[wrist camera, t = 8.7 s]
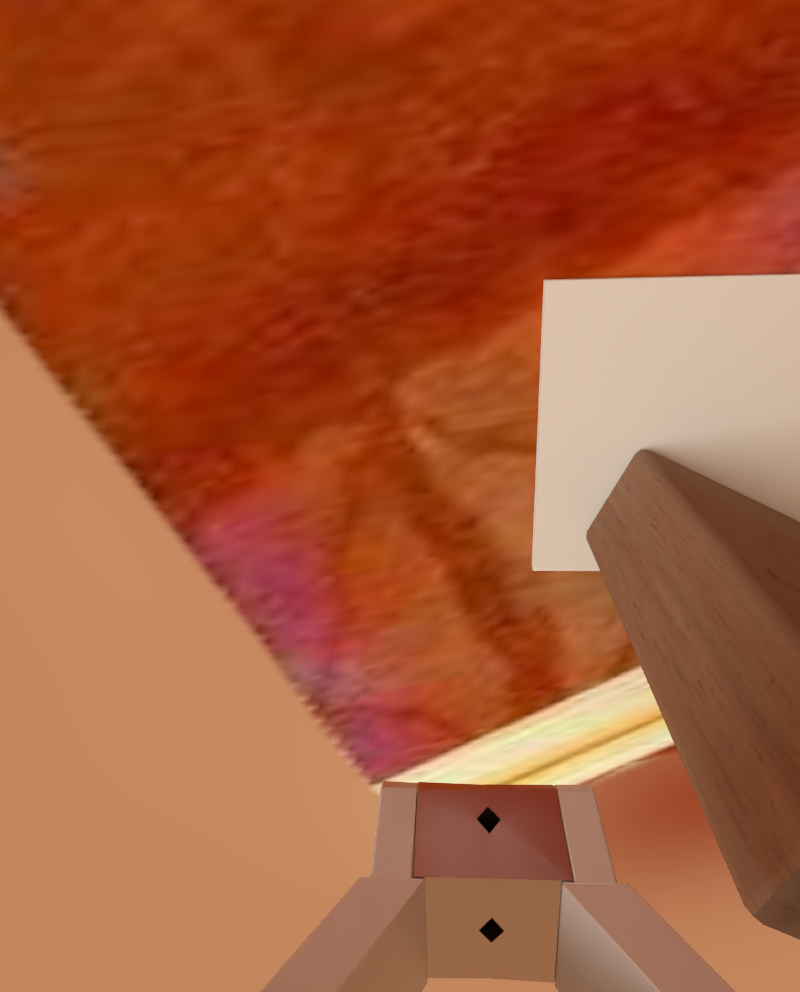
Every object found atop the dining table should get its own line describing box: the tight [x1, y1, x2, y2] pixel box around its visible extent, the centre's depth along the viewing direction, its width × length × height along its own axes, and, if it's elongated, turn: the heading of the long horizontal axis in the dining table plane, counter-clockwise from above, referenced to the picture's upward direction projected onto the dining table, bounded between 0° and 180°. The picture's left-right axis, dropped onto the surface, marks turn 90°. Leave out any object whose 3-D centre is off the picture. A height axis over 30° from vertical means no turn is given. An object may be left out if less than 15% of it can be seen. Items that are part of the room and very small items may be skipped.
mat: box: [532, 273, 800, 571], centre depth 29 cm, size 12×16×1 cm
